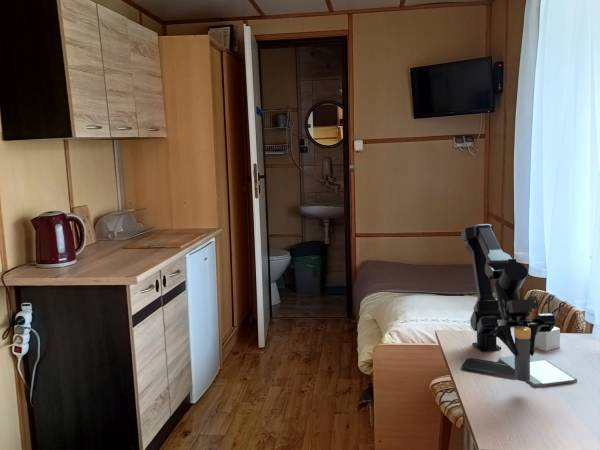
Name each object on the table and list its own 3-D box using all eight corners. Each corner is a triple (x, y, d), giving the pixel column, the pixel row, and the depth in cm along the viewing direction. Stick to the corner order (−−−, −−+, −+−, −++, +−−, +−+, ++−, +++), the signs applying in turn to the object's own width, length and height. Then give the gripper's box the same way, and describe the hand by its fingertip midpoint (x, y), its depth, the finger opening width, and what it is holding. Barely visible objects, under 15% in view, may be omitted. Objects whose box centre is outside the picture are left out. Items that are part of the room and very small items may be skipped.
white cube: (529, 345, 164) (529, 326, 163) (543, 341, 166) (543, 323, 166) (546, 351, 159) (546, 332, 158) (560, 347, 161) (560, 328, 160)
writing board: (498, 360, 154) (498, 357, 154) (536, 355, 156) (536, 352, 156) (535, 387, 136) (535, 384, 136) (578, 382, 138) (578, 379, 137)
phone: (467, 357, 156) (522, 365, 148) (467, 361, 156) (522, 369, 148) (460, 367, 149) (516, 376, 141) (460, 371, 149) (516, 380, 141)
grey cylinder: (511, 375, 135) (511, 327, 133) (525, 374, 136) (525, 325, 134) (519, 382, 131) (519, 332, 130) (533, 380, 132) (533, 330, 130)
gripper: (479, 286, 135) (493, 343, 125) (554, 283, 134) (574, 340, 124) (471, 306, 143) (483, 361, 134) (541, 303, 143) (558, 358, 133)
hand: (524, 355), depth 131 cm, fingers closed on grey cylinder, 4 cm apart
